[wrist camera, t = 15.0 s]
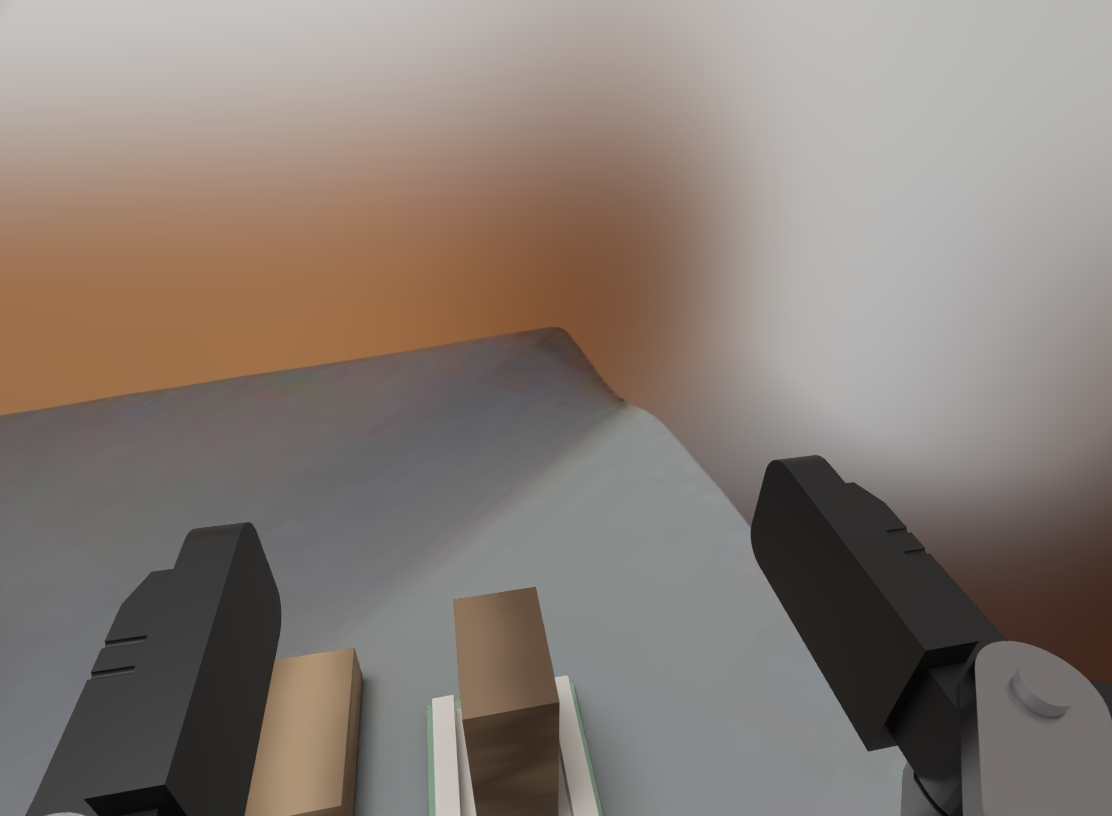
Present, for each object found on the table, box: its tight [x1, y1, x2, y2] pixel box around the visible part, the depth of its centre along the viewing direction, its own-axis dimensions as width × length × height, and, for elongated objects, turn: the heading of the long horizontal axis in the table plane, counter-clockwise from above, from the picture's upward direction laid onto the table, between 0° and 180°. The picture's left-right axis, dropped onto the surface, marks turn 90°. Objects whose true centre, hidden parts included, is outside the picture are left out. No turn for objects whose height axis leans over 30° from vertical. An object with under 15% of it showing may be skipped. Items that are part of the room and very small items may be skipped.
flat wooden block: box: [245, 648, 363, 816], centre depth 35 cm, size 12×9×3 cm
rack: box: [432, 675, 599, 816], centre depth 34 cm, size 8×8×2 cm
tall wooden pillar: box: [453, 587, 560, 816], centre depth 31 cm, size 4×6×11 cm, turn 11°
